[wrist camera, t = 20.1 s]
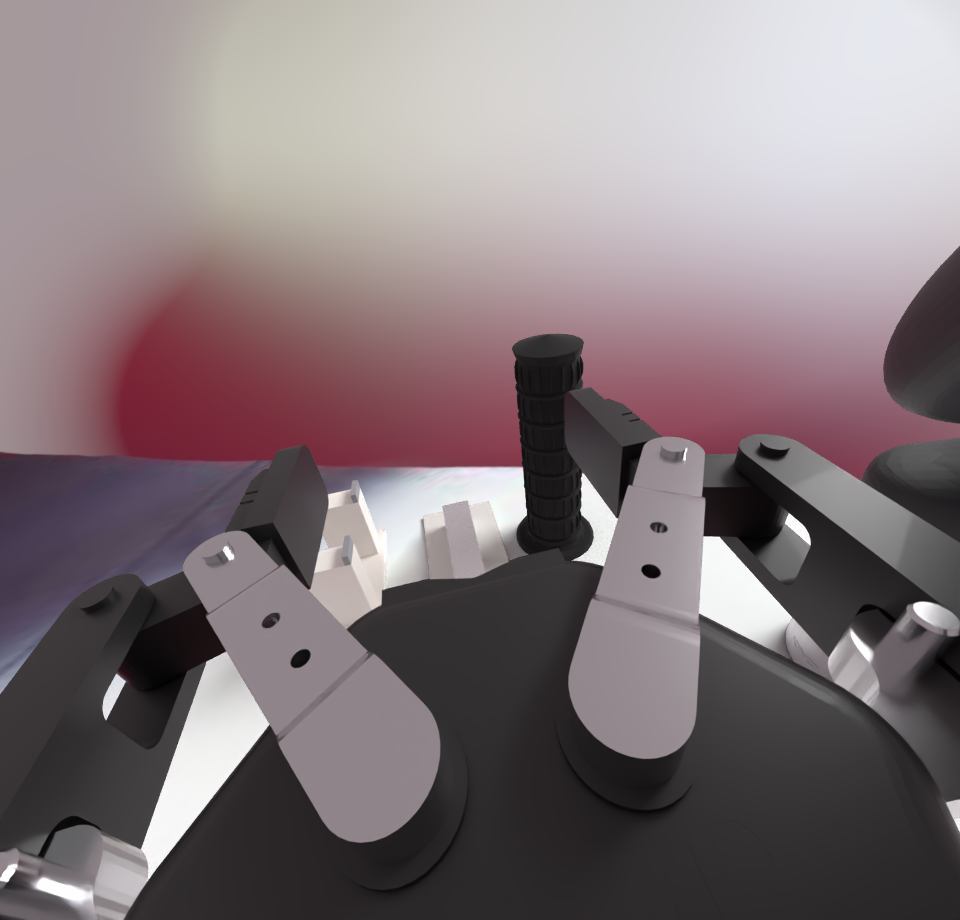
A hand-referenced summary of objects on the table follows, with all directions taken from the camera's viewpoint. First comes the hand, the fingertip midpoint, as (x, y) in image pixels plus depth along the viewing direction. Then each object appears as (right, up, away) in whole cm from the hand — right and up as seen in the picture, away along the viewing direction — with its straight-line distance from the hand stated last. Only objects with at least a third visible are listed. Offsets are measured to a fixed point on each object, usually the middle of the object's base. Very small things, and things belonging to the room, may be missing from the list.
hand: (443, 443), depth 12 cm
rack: (-14, -16, +37) cm, 43 cm away
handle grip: (+11, -10, +40) cm, 43 cm away
